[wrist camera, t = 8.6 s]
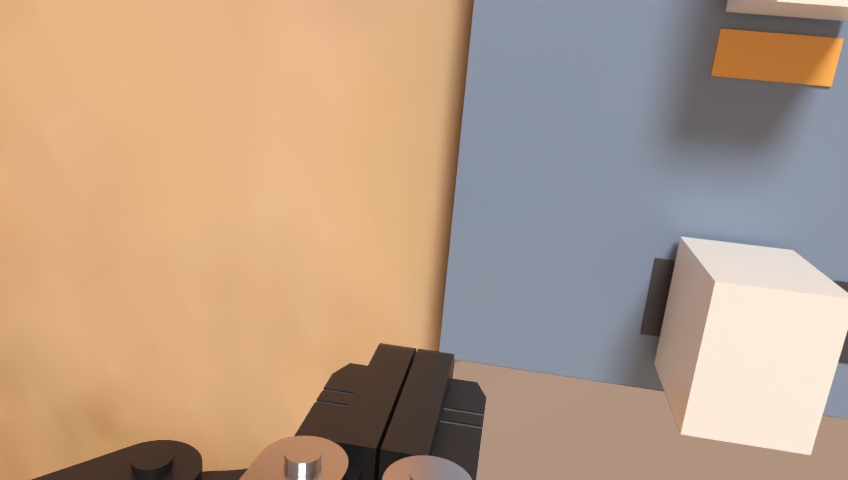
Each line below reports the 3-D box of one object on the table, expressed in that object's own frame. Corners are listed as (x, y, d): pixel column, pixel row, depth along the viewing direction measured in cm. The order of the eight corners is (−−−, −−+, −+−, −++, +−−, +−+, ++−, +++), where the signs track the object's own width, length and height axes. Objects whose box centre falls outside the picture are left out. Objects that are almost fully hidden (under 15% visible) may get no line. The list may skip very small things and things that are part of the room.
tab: (792, 250, 18) (856, 299, 15) (759, 379, 19) (810, 454, 16) (680, 236, 19) (715, 281, 15) (654, 363, 20) (680, 434, 16)
